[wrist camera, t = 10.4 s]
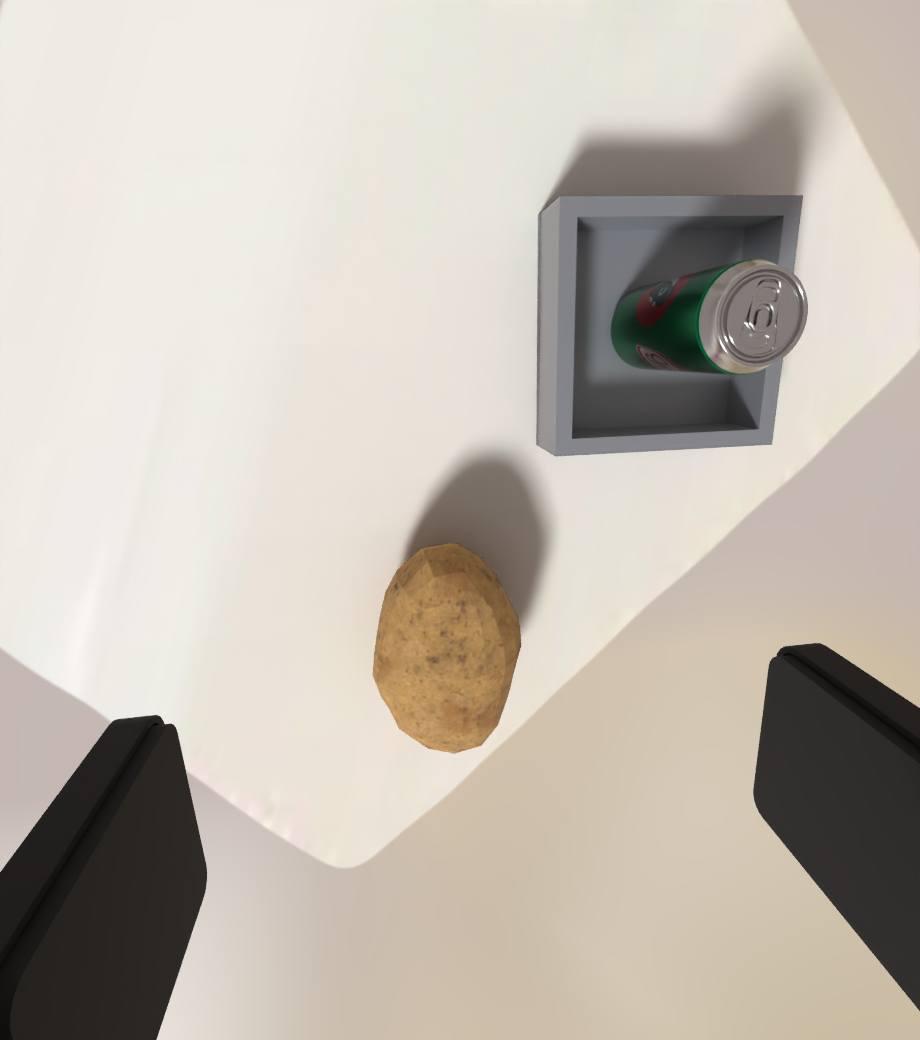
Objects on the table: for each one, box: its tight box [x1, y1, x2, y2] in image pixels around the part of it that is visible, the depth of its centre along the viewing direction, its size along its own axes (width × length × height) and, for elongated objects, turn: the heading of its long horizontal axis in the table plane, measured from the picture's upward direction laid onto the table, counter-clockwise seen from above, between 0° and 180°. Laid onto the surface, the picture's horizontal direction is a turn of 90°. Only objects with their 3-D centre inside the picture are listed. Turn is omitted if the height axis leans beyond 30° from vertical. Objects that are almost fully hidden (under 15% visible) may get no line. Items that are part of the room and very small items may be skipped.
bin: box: [537, 196, 803, 456], centre depth 35 cm, size 14×14×4 cm
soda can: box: [611, 259, 808, 375], centre depth 31 cm, size 5×5×12 cm
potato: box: [373, 543, 521, 753], centre depth 38 cm, size 10×14×8 cm
